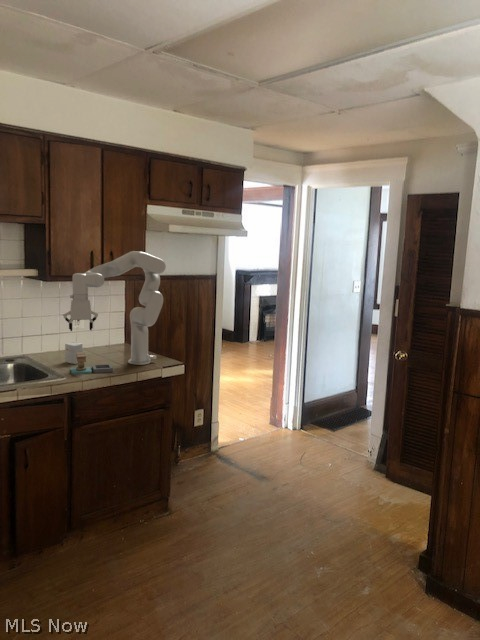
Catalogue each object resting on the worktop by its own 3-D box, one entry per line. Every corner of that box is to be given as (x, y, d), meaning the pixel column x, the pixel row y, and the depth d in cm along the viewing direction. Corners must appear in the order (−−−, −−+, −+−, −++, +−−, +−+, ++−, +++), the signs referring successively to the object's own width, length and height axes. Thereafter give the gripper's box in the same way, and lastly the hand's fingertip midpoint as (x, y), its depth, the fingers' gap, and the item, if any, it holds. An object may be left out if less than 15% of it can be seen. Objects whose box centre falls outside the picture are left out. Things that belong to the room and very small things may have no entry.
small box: (83, 362, 296) (82, 344, 295) (75, 364, 292) (75, 345, 290) (72, 360, 300) (72, 342, 299) (65, 362, 296) (64, 343, 294)
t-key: (86, 371, 275) (86, 356, 273) (76, 371, 273) (76, 356, 271) (85, 367, 283) (85, 352, 282) (75, 367, 281) (75, 352, 280)
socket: (110, 367, 288) (110, 363, 288) (113, 371, 279) (113, 368, 279) (91, 368, 285) (91, 364, 284) (93, 373, 275) (93, 369, 275)
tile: (89, 368, 284) (89, 366, 284) (91, 373, 275) (91, 371, 275) (70, 369, 281) (70, 367, 280) (71, 374, 271) (71, 372, 271)
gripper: (63, 298, 265) (63, 332, 268) (98, 298, 271) (99, 331, 274) (62, 296, 272) (63, 329, 275) (97, 296, 278) (97, 328, 281)
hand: (81, 330), depth 275 cm, fingers open, 9 cm apart
